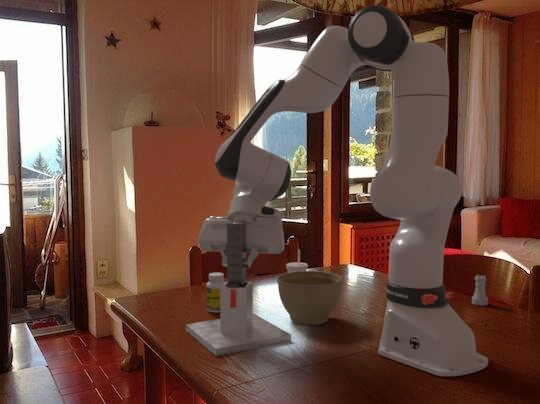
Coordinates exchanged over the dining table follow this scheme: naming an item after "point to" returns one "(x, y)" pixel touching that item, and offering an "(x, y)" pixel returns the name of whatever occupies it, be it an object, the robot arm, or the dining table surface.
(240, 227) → the post
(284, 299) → the planter bowl
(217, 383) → the dining table surface
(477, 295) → the rook chess piece
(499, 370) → the dining table surface
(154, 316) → the dining table surface
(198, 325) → the stand
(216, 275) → the supplement bottle
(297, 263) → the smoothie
